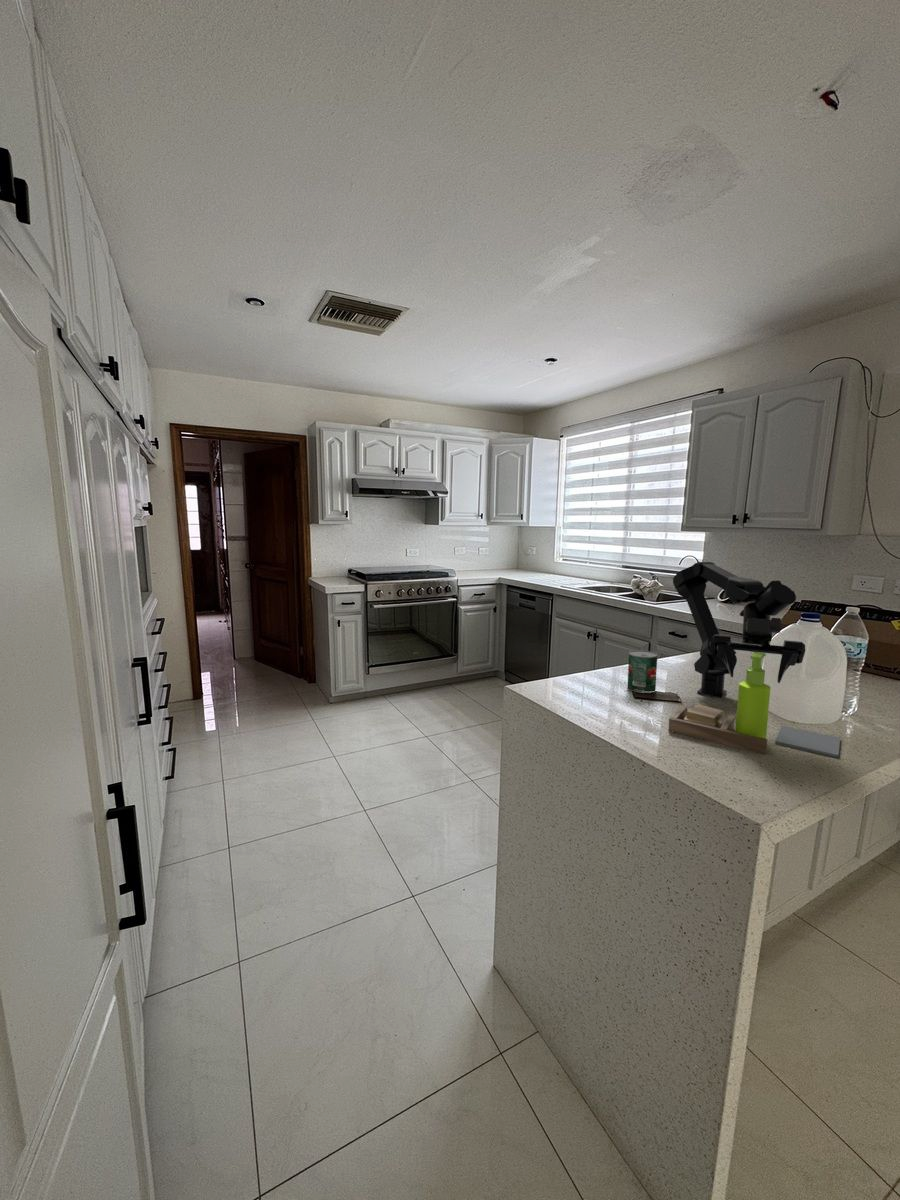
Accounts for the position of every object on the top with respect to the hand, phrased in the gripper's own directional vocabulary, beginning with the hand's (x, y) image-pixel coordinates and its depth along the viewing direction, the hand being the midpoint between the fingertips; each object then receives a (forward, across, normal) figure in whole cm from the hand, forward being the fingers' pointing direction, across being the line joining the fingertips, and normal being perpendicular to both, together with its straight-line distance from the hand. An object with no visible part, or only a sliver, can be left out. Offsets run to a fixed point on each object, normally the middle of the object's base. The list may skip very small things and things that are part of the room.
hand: (755, 679), depth 113 cm
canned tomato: (-5, -27, +23) cm, 36 cm away
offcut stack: (+12, -10, +6) cm, 17 cm away
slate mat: (+9, +11, +8) cm, 17 cm away
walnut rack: (+12, -6, +6) cm, 15 cm away
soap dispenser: (+13, 0, +5) cm, 14 cm away
